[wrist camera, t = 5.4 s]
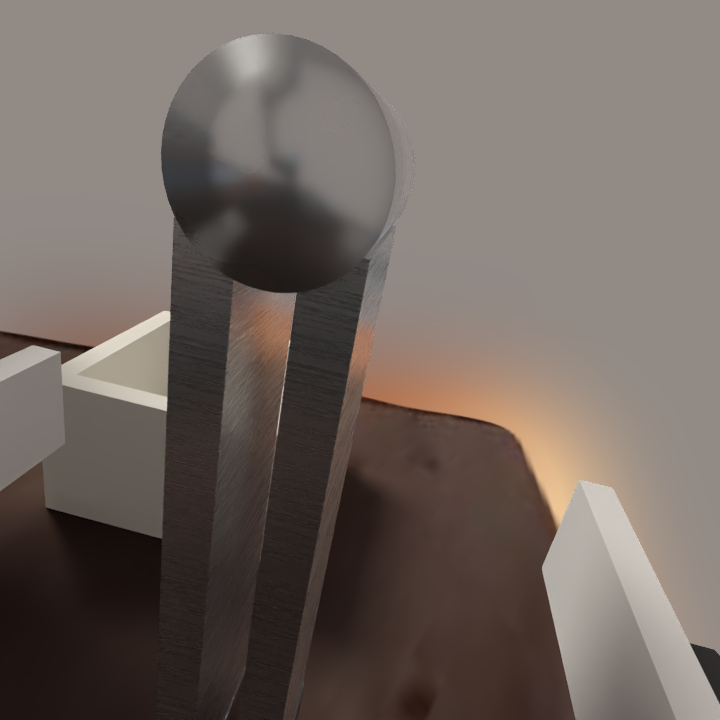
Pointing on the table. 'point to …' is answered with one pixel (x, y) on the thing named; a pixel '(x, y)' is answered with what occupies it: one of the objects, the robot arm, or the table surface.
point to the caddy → (116, 431)
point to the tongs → (265, 357)
